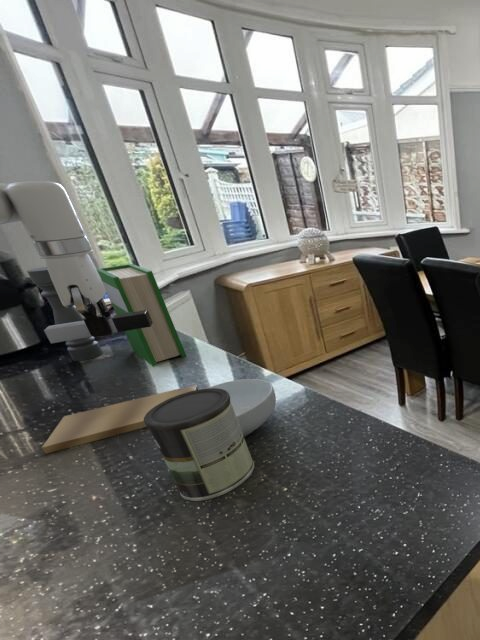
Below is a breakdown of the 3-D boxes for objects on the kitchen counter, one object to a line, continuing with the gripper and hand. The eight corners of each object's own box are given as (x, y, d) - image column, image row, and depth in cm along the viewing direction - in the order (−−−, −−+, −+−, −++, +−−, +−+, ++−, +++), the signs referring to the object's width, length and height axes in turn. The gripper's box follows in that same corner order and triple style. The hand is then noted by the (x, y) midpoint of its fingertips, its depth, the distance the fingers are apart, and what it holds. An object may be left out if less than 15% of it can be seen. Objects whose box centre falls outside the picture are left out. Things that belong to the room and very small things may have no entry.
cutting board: (45, 454, 71) (41, 447, 71) (67, 422, 81) (63, 416, 80) (194, 414, 82) (191, 408, 82) (198, 390, 91) (196, 384, 91)
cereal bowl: (234, 403, 86) (223, 375, 83) (300, 410, 82) (292, 381, 79) (155, 454, 70) (139, 422, 68) (233, 465, 67) (219, 432, 64)
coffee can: (170, 510, 58) (130, 433, 53) (190, 467, 67) (158, 396, 61) (249, 489, 62) (220, 414, 56) (259, 450, 71) (234, 382, 65)
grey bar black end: (50, 343, 81) (42, 329, 80) (56, 338, 83) (48, 324, 82) (150, 326, 89) (145, 313, 87) (153, 322, 91) (147, 309, 90)
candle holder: (66, 360, 109) (18, 271, 99) (91, 351, 114) (48, 266, 104) (84, 361, 108) (37, 271, 98) (109, 352, 113) (67, 266, 103)
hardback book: (186, 356, 109) (151, 271, 99) (153, 366, 104) (112, 277, 94) (165, 342, 119) (131, 263, 109) (133, 351, 113) (95, 269, 103)
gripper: (52, 244, 83) (91, 325, 91) (19, 256, 70) (68, 349, 78) (100, 240, 87) (134, 318, 94) (77, 251, 74) (118, 340, 82)
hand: (104, 331), depth 86 cm, fingers closed on grey bar black end, 3 cm apart
